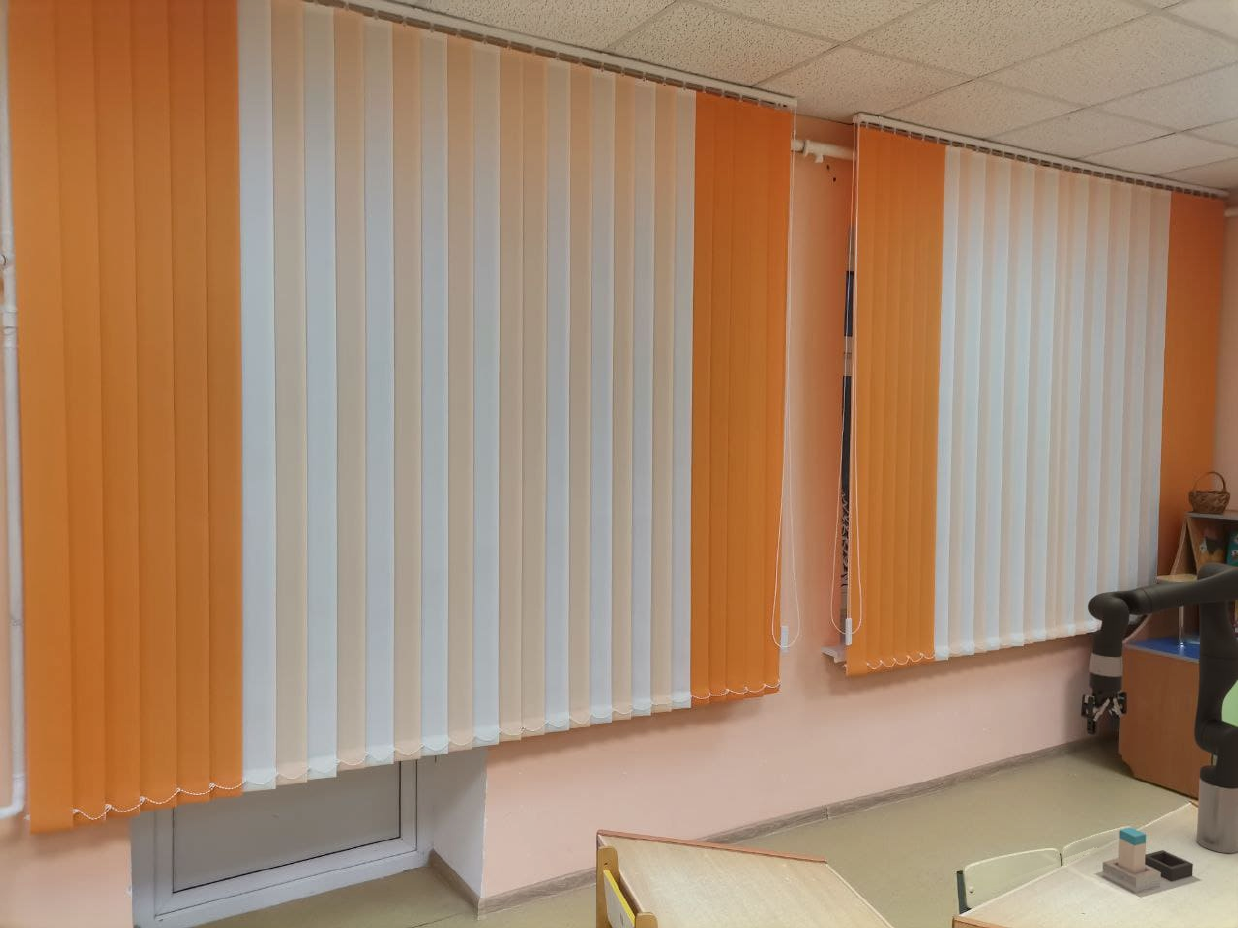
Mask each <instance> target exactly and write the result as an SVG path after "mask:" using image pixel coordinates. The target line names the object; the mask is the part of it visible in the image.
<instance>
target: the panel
mask: <svg viewBox="0 0 1238 928" xmlns="http://www.w3.org/2000/svg"><path fill="white" fill-rule="evenodd" d="M1094 875H1096V876H1098V877H1099V878H1102V879H1104V880H1106V881H1107V882H1110V883H1112V884H1113V885H1115V886H1118V887H1119V888H1120V889H1123V890H1125V891H1126V892H1129V893H1130V894H1132V895H1134V896H1136V897H1138V898H1139V899H1140V898H1144V897H1148V896H1152V895H1155V894H1159V893H1161V892H1165V891H1169V890H1172V889H1176V888H1179V887H1182V886H1186V885H1190V884H1194V883H1197V882H1200V881H1202V879H1200V878H1198V877H1196V876H1195V875H1192V876H1190V877H1186V878H1183V879H1179V880H1176V881H1172V882H1171V881H1169V880H1167V879H1165V878H1163V877H1160V887H1157V888H1153V889H1149V890H1146V891H1142V892H1139V893H1134V892H1132V891H1130V890H1128V889H1126V888H1124V887H1122V886H1120V885H1118V884H1117V883H1115V882H1113V881H1111V880H1109V879H1107V878H1105V877H1103V876H1102V875H1103V870H1101V871H1097V872H1095V873H1094Z"/></svg>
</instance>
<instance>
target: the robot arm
mask: <svg viewBox="0 0 1238 928" xmlns="http://www.w3.org/2000/svg"><path fill="white" fill-rule="evenodd" d="M1234 601H1238V567H1237V566H1234V565H1231V564H1226V563H1221V562H1215V561H1211V562H1210V561H1209V562H1207V563H1205V564H1203V565H1202V566H1201V567H1200V568H1199V569H1198V572H1197V575H1196V579H1195V580H1190V581H1188V580H1187V581H1178V582H1177V581H1175V582H1163V583H1155V584H1150V585H1144V586H1141V587H1137V588H1133V589H1129V590H1119V591H1118V590H1117V591H1116V590H1115V591H1109V592H1101V593H1099V594H1096V595H1094V596H1093V597H1092V598H1090V600H1089V602H1088V605H1087V608H1088V609H1087V610H1088V613H1089V614H1090V616H1091V617H1093V618H1094V619H1096V620H1098V621H1101V625H1100V630H1096V631H1094V632H1093V634H1092V636H1091V637H1092V639H1091V652H1090V653H1091V655H1090V660H1089V677H1088V678H1089V679H1088V686H1089V688H1091V690H1092V691H1091V694H1090V695H1089V694H1085V693H1084V694H1082V699H1081V711H1080V716H1081V717H1082V718H1084V719H1086V731H1087V733H1088V734H1089V735H1093V736H1096V735H1097V734H1098V733H1097V731H1098V729H1097V728H1098V721H1097V720H1098V718H1099V717H1100V715H1103V712H1105V711H1109V713H1110V714H1111V715H1109V730H1111V731H1114V732H1119V731H1120V726H1121V725H1120V722H1121V718H1122V717H1123V715H1126V714H1127V711H1128V710H1127V709H1128V705H1127V703H1128V695H1127V693H1128V692H1126V691H1124V690H1122V688H1123V687H1122V684H1123V683H1122V682H1123V640H1124V637H1125V635H1126V632H1127V628H1128V626H1129V621H1130V615H1132V616H1140V617H1141V616H1145V615H1146V616H1147V615H1150V614H1151V615H1152V614H1155V613H1158V612H1163V611H1167V610H1171V609H1176V608H1181V607H1187V606H1192V605H1198V611H1199V644H1198V645H1199V647H1198V695H1197V705H1196V711H1195V720H1194V728H1193V735H1194V741H1195V744H1196V745H1197V747H1198V748H1199V749H1201V750H1202V751H1204V752H1206V753H1209V754H1212V755H1214V756H1216V763H1215V764H1214V765H1213V764H1212V765H1204V766H1203V765H1202V767H1201V768H1200V771H1199V779H1198V780H1199V781H1198V782H1199V784H1198V785H1199V786H1198V787H1199V788H1198V806H1197V807H1198V808H1197V825H1196V843H1198V844H1199V845H1200V846H1202V847H1204V848H1205V849H1209V850H1211V851H1214V852H1217V853H1223V854H1236V853H1238V726H1237V725H1234V724H1233V723H1230V722H1226V721H1224V720H1223V713H1222V712H1223V706H1224V705H1223V703H1224V701H1225V698H1226V696H1227V694H1228V693H1229V692H1230V691H1231V690H1232V689H1233V688H1234V686H1235V685H1236V683H1237V681H1238V638H1237V635H1236V633H1235V631H1234V628H1233V626H1232V623H1231V620H1230V617H1229V610H1228V609H1229V608H1228V607H1229V606H1228V603H1229V602H1234Z"/></svg>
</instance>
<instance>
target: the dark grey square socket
mask: <svg viewBox="0 0 1238 928" xmlns="http://www.w3.org/2000/svg"><path fill="white" fill-rule="evenodd" d="M1145 865H1147V866H1149V867H1151V868H1153V869H1155V870H1157V871H1160V872H1161V877H1163V878H1165V879H1167V880H1169V881H1171V882H1172V881H1176V880H1179V879H1183V878H1186V877H1190V876H1193V867H1194V866H1193V865H1194V864H1193V863H1191V862H1190V861H1188V860H1185V859H1183V858H1181V857H1179V856H1176V854H1175V855H1174V854H1172V853H1170V852H1167V851H1165V850H1163V849H1161V850H1157V851H1154V852H1149V853H1146V855H1145Z"/></svg>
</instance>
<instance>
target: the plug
mask: <svg viewBox="0 0 1238 928" xmlns="http://www.w3.org/2000/svg"><path fill="white" fill-rule="evenodd" d="M1118 834H1119V836H1118V837H1119V838H1118V857H1117V858H1118V867H1120V868H1122V869H1124V870H1126V871H1128V872H1130V873H1132V874H1134V875H1135V874H1139V873H1142V872H1145V855H1146V854H1147V852H1146V851H1147V833H1144V832H1142V831H1140V830H1138V829H1135V828H1134V827H1126V828H1123V829H1119V833H1118Z"/></svg>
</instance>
